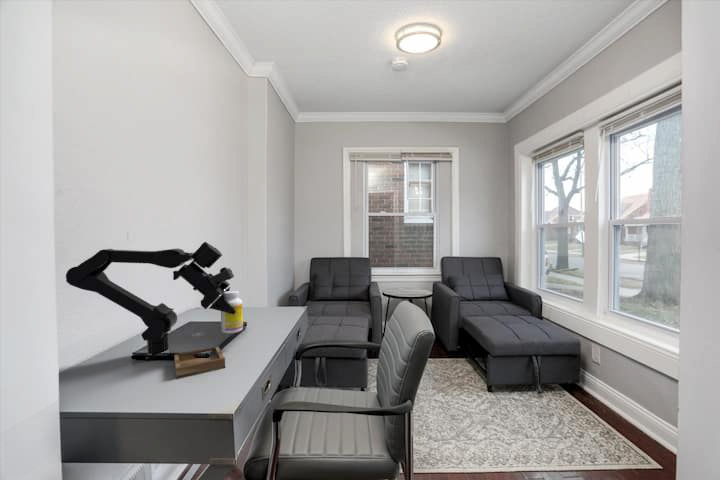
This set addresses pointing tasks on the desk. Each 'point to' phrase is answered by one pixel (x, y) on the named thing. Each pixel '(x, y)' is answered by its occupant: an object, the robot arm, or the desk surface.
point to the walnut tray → (198, 362)
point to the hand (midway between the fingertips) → (236, 310)
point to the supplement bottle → (232, 321)
